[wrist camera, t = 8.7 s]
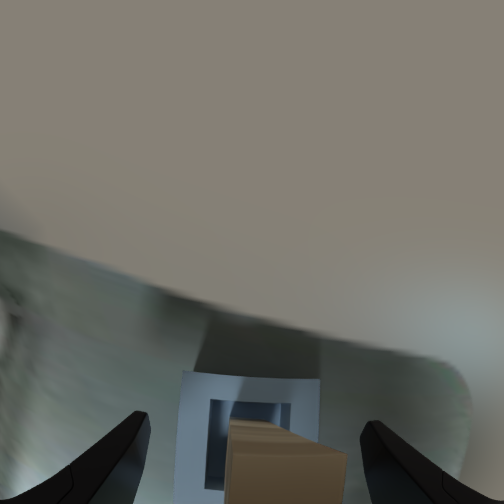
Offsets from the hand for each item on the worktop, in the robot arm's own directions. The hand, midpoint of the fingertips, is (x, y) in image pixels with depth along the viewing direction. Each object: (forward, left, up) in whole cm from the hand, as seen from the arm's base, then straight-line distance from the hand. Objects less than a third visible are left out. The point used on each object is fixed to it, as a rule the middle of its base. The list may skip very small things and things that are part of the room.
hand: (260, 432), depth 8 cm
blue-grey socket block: (-1, -1, -9) cm, 9 cm away
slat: (-1, -1, -8) cm, 8 cm away
